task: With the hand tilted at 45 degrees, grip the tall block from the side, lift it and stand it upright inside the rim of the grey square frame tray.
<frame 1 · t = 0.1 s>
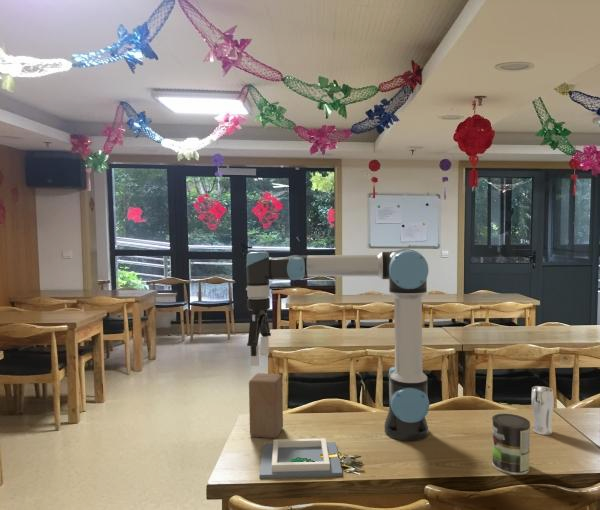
hand: (260, 360, 156), 28 cm above the table, tool pointing down, fingers open, 13 cm apart
grey square frame tray: (300, 460, 144), on the table
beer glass: (542, 431, 162), on the table
coffee can: (510, 467, 138), on the table
block: (266, 433, 165), on the table
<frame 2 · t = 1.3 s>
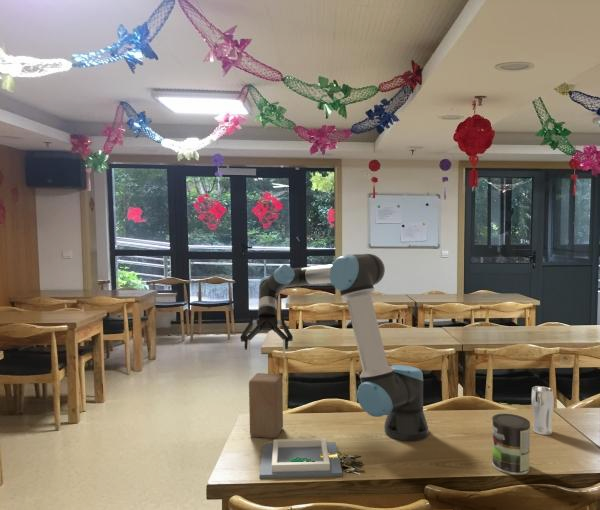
hand: (266, 356, 175), 24 cm above the table, tool tilted 45°, fingers open, 13 cm apart
nothing on the table moved.
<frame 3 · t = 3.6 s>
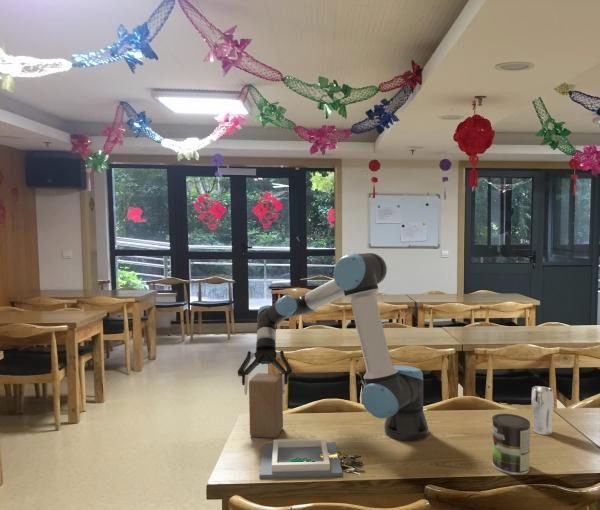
hand: (264, 392, 166), 14 cm above the table, tool tilted 45°, fingers open, 13 cm apart
block: (266, 432, 165), on the table, touching gripper
everything else where it was.
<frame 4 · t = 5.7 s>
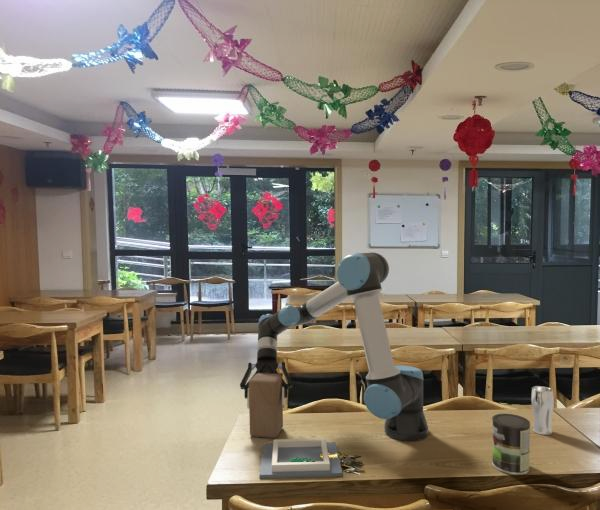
hand: (265, 406, 162), 10 cm above the table, tool tilted 45°, fingers closed on block, 11 cm apart
block: (266, 432, 165), on the table, touching gripper
everything else where it was.
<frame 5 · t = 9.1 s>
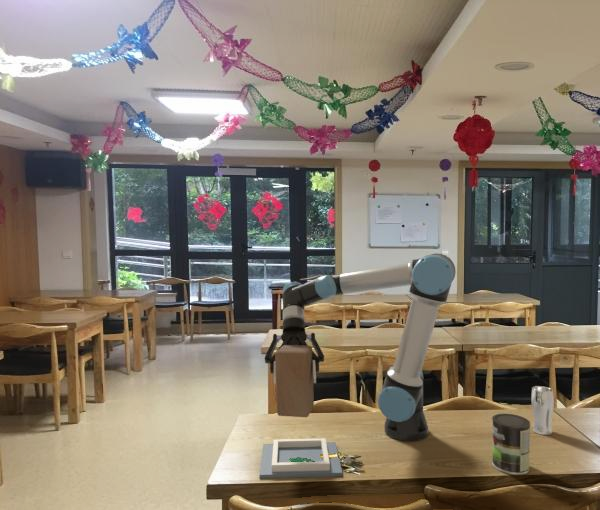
hand: (294, 381, 141), 25 cm above the table, tool tilted 45°, fingers closed on block, 11 cm apart
block: (295, 412, 145), point 15 cm above the table, touching gripper
everything else where it was.
when the fingers open (13 cm above the table, at t = 12.8 s): block drops 1 cm, resting on grey square frame tray.
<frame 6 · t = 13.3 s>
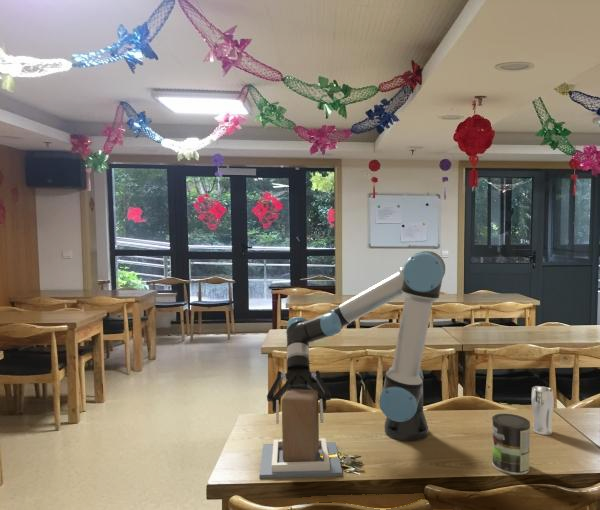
hand: (299, 421, 141), 13 cm above the table, tool tilted 45°, fingers open, 13 cm apart
block: (301, 457, 144), point 1 cm above the table, touching grey square frame tray
everything else where it was.
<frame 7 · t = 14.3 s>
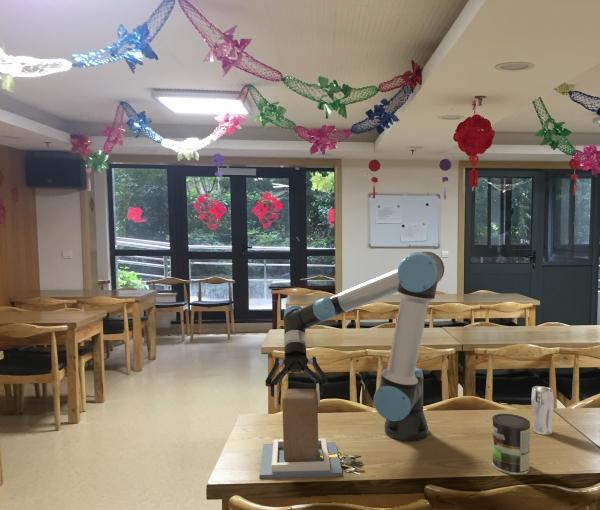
hand: (297, 405, 145), 16 cm above the table, tool tilted 45°, fingers open, 13 cm apart
block: (301, 456, 144), point 1 cm above the table, touching grey square frame tray, gripper
everything else where it was.
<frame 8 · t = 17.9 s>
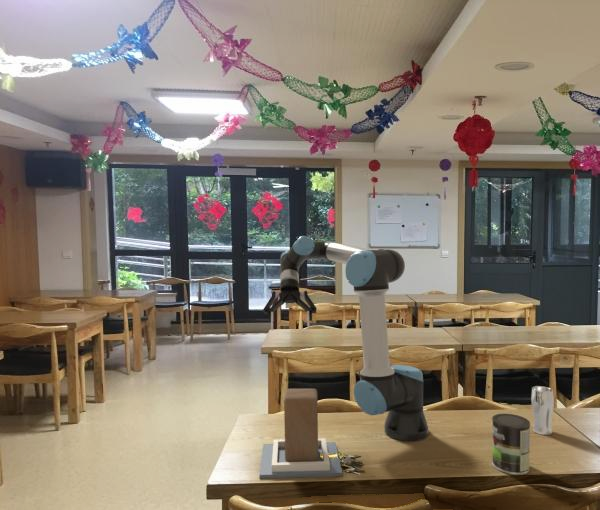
hand: (290, 327, 172), 36 cm above the table, tool tilted 45°, fingers open, 13 cm apart
block: (302, 456, 144), point 1 cm above the table, touching grey square frame tray
everything else where it was.
at the end: block 1.0 cm off-centre on the grey square frame tray, point 0.8 cm above the grey square frame tray's base; block tilted 0°; the gripper is holding nothing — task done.
